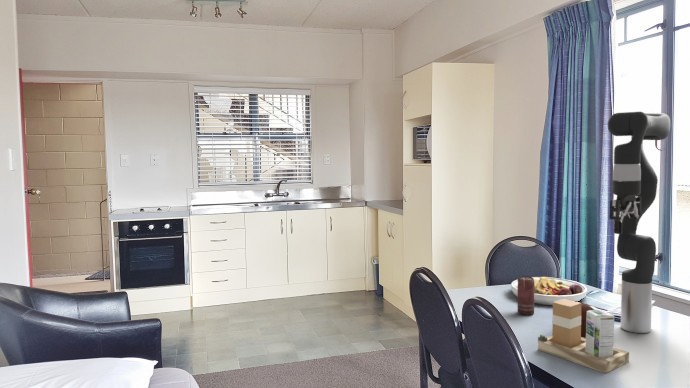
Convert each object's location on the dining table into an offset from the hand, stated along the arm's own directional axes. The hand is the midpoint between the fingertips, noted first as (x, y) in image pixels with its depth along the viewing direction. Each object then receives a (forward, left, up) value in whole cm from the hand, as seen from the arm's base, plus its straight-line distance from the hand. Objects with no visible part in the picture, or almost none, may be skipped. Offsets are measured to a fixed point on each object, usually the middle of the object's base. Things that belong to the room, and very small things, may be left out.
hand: (625, 232), depth 159 cm
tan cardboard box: (+12, -12, -38) cm, 41 cm away
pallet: (+12, -6, -38) cm, 40 cm away
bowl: (-35, -50, -39) cm, 72 cm away
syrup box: (+12, -1, -38) cm, 40 cm away
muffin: (-6, -18, -38) cm, 43 cm away
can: (-9, -42, -38) cm, 58 cm away
